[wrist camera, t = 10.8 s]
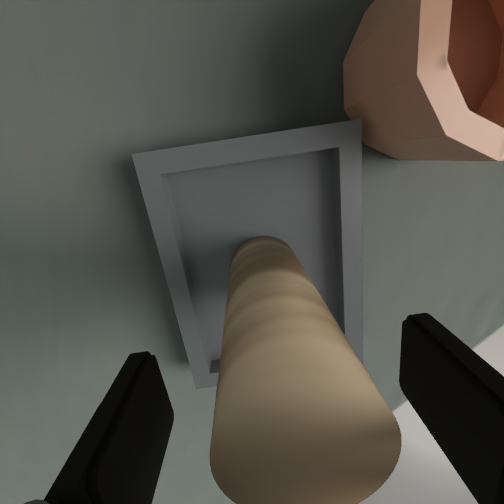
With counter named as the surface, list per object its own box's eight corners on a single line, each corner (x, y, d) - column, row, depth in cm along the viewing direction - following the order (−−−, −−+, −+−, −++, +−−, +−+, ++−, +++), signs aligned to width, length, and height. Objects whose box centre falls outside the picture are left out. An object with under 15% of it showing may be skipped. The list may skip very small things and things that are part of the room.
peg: (225, 241, 17) (190, 397, 5) (293, 231, 17) (404, 366, 5) (236, 302, 18) (227, 530, 7) (300, 293, 18) (398, 506, 7)
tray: (147, 154, 16) (131, 153, 14) (344, 124, 16) (361, 118, 14) (201, 363, 22) (196, 388, 19) (349, 343, 21) (362, 366, 19)
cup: (341, -13, 14) (430, -169, 7) (516, -42, 14) (773, -229, 7) (345, 167, 17) (411, 173, 10) (489, 146, 17) (651, 138, 10)
